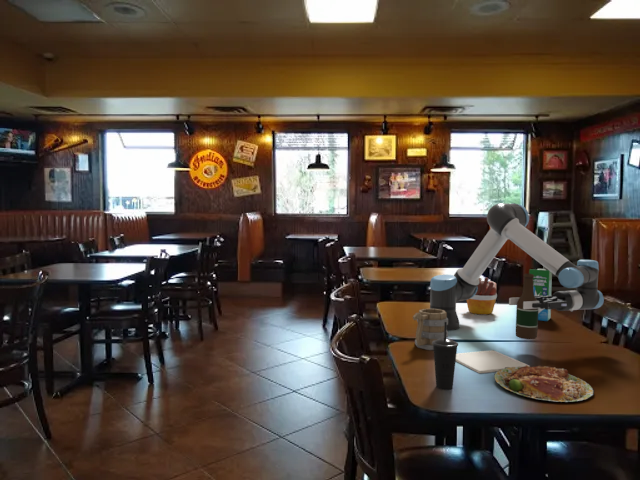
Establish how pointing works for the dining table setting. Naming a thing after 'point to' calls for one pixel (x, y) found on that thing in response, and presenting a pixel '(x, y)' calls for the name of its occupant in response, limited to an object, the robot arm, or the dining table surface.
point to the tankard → (429, 327)
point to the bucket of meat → (483, 298)
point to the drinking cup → (444, 361)
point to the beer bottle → (527, 311)
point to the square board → (487, 361)
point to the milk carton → (542, 289)
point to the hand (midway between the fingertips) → (516, 303)
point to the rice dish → (544, 383)
